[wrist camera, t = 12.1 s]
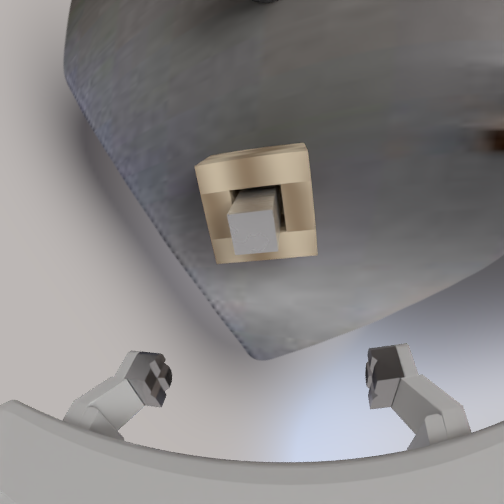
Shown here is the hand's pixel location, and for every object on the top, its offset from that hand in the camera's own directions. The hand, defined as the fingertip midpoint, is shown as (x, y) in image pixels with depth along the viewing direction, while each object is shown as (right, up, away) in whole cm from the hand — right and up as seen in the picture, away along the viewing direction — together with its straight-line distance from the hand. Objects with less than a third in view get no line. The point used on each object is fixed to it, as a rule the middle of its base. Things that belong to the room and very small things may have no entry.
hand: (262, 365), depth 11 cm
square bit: (+1, +10, +21) cm, 23 cm away
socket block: (+1, +11, +21) cm, 24 cm away
